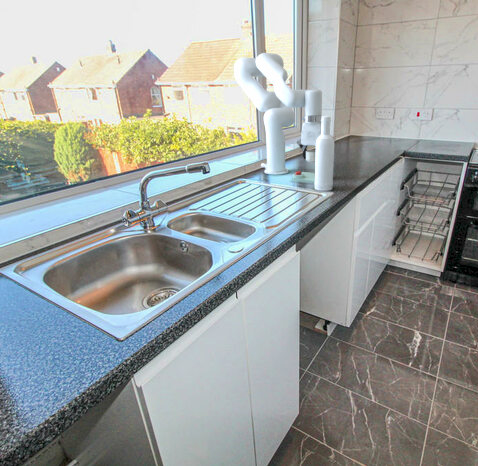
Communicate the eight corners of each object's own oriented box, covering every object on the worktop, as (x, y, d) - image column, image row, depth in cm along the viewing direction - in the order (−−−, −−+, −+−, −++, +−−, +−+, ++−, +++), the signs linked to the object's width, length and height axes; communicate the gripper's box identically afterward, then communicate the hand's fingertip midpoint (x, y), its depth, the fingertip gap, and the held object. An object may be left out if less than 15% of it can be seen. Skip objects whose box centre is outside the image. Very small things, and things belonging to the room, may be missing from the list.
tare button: (294, 175, 156) (294, 172, 155) (296, 174, 158) (296, 171, 157) (299, 175, 155) (299, 172, 154) (301, 174, 157) (302, 171, 156)
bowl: (303, 161, 155) (303, 151, 153) (308, 159, 160) (308, 149, 158) (316, 162, 152) (316, 152, 150) (321, 159, 158) (321, 150, 156)
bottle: (335, 190, 141) (339, 116, 129) (317, 191, 140) (320, 117, 128) (328, 185, 149) (331, 115, 136) (312, 186, 147) (313, 115, 135)
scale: (290, 181, 156) (290, 175, 155) (301, 174, 168) (301, 169, 167) (324, 185, 150) (324, 178, 149) (333, 177, 161) (333, 171, 160)
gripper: (292, 119, 149) (292, 159, 156) (329, 120, 142) (327, 161, 149) (298, 118, 155) (298, 156, 162) (334, 119, 148) (332, 158, 156)
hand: (312, 158), depth 156 cm, fingers closed on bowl, 6 cm apart
